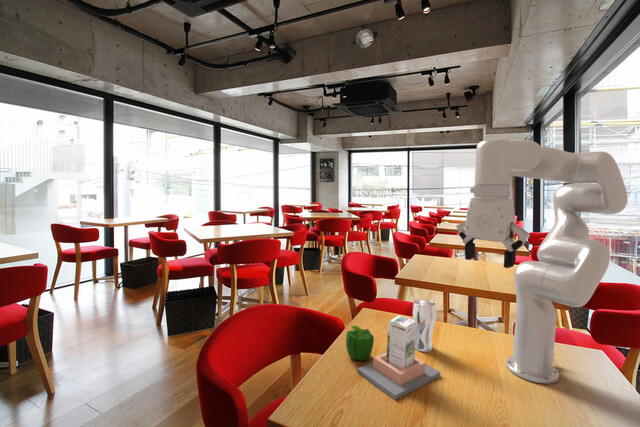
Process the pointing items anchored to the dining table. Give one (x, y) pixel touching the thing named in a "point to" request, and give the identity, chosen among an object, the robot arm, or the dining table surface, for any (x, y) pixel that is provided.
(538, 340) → the robot arm
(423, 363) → the socket board
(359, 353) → the bell pepper
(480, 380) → the dining table surface
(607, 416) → the dining table surface
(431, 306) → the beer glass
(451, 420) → the dining table surface
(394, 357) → the syrup box
